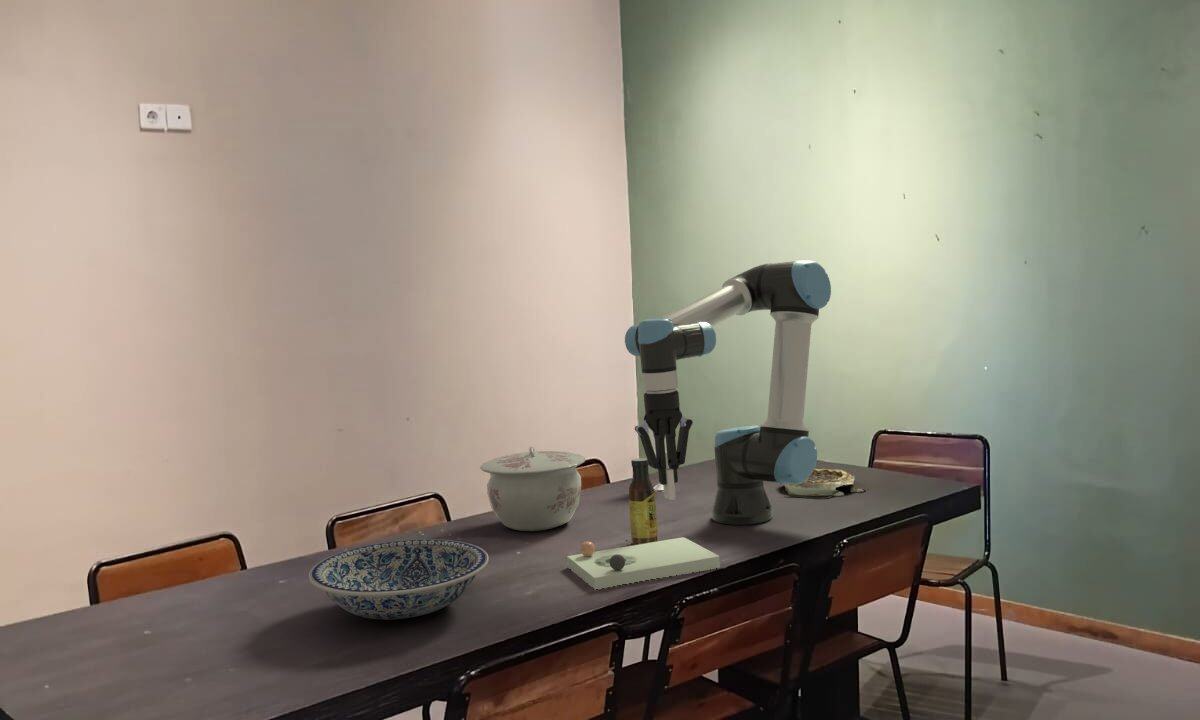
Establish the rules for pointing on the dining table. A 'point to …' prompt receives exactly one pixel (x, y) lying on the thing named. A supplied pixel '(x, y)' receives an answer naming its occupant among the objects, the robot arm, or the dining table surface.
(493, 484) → the chamber pot
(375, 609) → the ceramic bowl
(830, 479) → the pie
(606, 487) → the dining table surface
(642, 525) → the sauce bottle
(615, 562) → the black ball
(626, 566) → the board
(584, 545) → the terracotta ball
